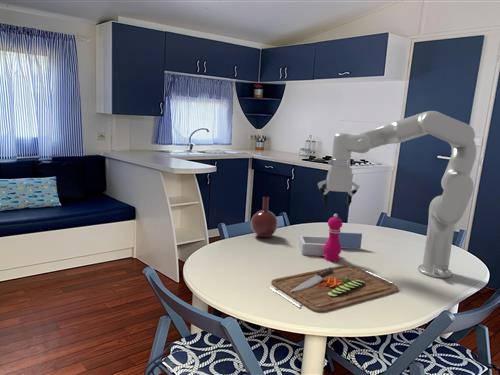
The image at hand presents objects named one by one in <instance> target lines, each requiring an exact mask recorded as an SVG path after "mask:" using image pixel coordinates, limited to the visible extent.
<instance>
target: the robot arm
mask: <svg viewBox="0 0 500 375" xmlns="http://www.w3.org/2000/svg"><path fill="white" fill-rule="evenodd" d="M426 135H431V136H432V137H435V138H438V139H440V140H442V141H444V142H446V143H448V144H449V145H450V147H451V155H450V158H449V161H448V163H447V166H446V169H445V172H444V174H443V176H442V177H441V182H440V185H441V188H442V189H443V191H442V194H441V195H437V196H435V197H434V198H433V199H432V200H431V202H430V204H429V207H428V221H427V222H428V223H427V231H426V236H425V237H426V238H425V246H424V253H423V260H422V264H419V265H418V267H417V270H418V271H419V272H420V273H422V274H424V275H426V276H429V277H433V278H441V279H447V278H451V277H452V275H453V273H452V271H451V269H449V265H450V260H451V259H450V258H451V252H452V247H453V238H454V232H455V225H456V224H457V223H459V222H460V221H461V219H462V218H463V216H464V214H465V212H466V210H467V207H468V205H469V203H470V200H471V197H472V195H473V191H474V181H473V179H472V178H471V173H472V170H473V168H474V165H475V162H476V158H477V145H476V142H475V138H476V137H475V136H476V132H475V129H474V128H473V127H472V126H471V125H469V124H468V123H466V122H463V121H461V120H458V119H457V118H453V117H451V116H448V115H446V114H444V113H441V112H440V111H436V110H427V111H424V112H420V113H417V114H415V115H414V114H413V115H411V116H409V117H405V118H403V119H399V120H397V121H396V120H395V121H394V122H390V123H387V124H386V125H383V126H379V127H376V128H373V129H371V130H368V131H365V132H362V133H359V134H351V133H344V132H343V133H342V132H337V133H335V134H334V137H333V141H332V152H331V153H332V156H331V159H328V161H327V164H330V165H329V167H328V171H327V174H326V178H325V180H321V181H319V182H318V183H317V186H318V189H319V191H320V192H321V193H322V202H323V204H324V205H327V204H328V193H329V192H330V191H331V192H340V193H341V192H342V193H343V192H344V193H347V195H346V196H347V197H346V203H345V204H346V205H347V206H349V207H350V206H351V204H352V201H353V200H352V199H353V197H354V195H355V194H356V193H357V192H358V191H359V189H360V185H359V184H357V183H355V182H354V181H353V168H352V167H351V157H352V152H353V153H357V154H366V153H368V152H370V151H371V149H375V148H379V147H381V146H382V147H383V146H386V145H390V144H391V145H392V144H400V143H404V142H406V141H410V140H413V139H416V138H420V137H423V136H426ZM324 185H325V188H323V186H324ZM353 187H354V188H353Z"/></svg>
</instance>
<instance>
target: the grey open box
mask: <svg viewBox="0 0 500 375" xmlns="http://www.w3.org/2000/svg"><path fill="white" fill-rule="evenodd" d="M328 238H329V236H318V235H299V236H298V248H299V250H300V253H301V255H302V256H321V257H322V256H323V257H325V254H326V252H325V251H324V246H325V244H326V242H327V240H328Z"/></svg>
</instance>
